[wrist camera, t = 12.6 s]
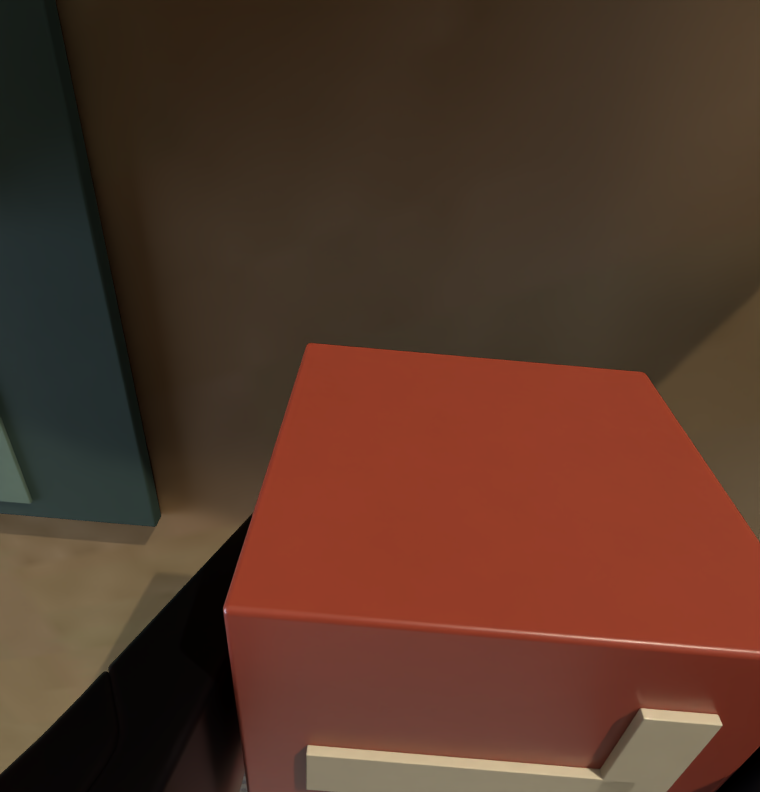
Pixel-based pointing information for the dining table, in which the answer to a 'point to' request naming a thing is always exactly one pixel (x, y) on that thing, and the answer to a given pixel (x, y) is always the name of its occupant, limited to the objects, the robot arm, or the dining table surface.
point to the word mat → (59, 302)
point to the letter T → (490, 586)
